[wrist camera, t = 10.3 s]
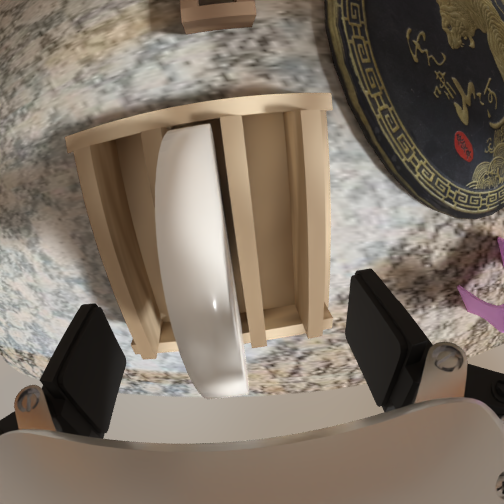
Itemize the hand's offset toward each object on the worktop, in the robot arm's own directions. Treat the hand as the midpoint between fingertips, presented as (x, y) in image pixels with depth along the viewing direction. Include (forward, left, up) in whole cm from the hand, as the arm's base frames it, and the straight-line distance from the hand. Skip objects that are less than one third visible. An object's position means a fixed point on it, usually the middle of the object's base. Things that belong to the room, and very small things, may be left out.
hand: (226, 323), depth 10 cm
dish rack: (+1, 0, -11) cm, 11 cm away
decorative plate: (-23, -13, -12) cm, 29 cm away
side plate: (0, -1, -4) cm, 4 cm away
